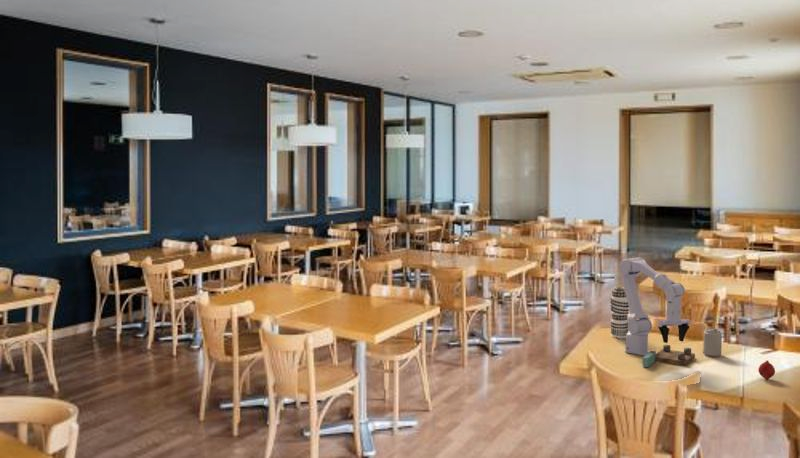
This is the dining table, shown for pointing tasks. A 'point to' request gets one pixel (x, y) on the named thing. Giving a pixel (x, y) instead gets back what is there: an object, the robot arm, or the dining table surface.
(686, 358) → the stool seat
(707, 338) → the can
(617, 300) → the grey patterned cylinder piece
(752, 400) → the dining table surface
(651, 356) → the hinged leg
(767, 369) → the onion
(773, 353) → the dining table surface
